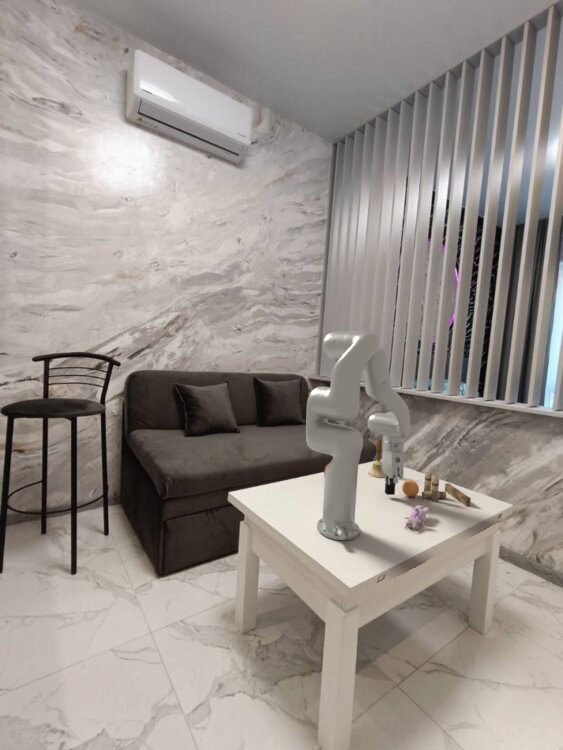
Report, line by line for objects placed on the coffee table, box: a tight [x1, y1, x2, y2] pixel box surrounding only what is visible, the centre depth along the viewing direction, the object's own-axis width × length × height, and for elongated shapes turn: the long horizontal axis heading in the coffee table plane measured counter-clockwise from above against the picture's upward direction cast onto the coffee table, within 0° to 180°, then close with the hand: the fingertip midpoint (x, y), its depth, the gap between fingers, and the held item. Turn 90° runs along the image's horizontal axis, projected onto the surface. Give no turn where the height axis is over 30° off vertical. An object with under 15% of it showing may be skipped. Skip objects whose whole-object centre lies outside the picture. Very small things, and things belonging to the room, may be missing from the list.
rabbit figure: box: [404, 504, 430, 532], centre depth 113 cm, size 6×6×15 cm
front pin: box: [421, 490, 447, 499], centre depth 133 cm, size 2×2×8 cm
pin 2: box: [429, 476, 440, 503], centre depth 131 cm, size 2×2×8 cm
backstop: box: [444, 483, 472, 507], centre depth 134 cm, size 14×2×3 cm, turn 5°
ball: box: [401, 479, 420, 498], centre depth 134 cm, size 6×6×6 cm
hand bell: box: [367, 438, 385, 479], centre depth 156 cm, size 8×8×16 cm
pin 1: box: [423, 471, 433, 492], centre depth 136 cm, size 2×2×8 cm
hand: (389, 493), depth 132 cm, fingers closed
